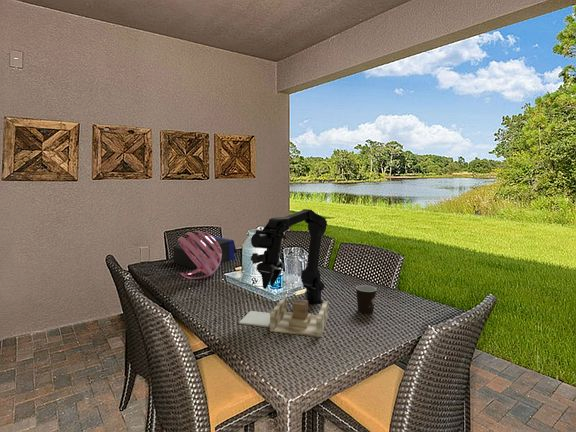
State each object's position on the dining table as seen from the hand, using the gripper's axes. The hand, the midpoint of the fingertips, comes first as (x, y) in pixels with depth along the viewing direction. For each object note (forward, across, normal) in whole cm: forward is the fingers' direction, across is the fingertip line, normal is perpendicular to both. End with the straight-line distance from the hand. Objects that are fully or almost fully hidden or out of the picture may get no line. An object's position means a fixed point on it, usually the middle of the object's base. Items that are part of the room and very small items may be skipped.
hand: (268, 287), depth 140 cm
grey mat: (+14, -1, -2) cm, 14 cm away
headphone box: (+7, -82, -71) cm, 109 cm away
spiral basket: (+11, -49, -56) cm, 76 cm away
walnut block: (+9, 0, +15) cm, 17 cm away
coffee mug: (+6, -22, +40) cm, 46 cm away
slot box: (+12, 0, +15) cm, 19 cm away
